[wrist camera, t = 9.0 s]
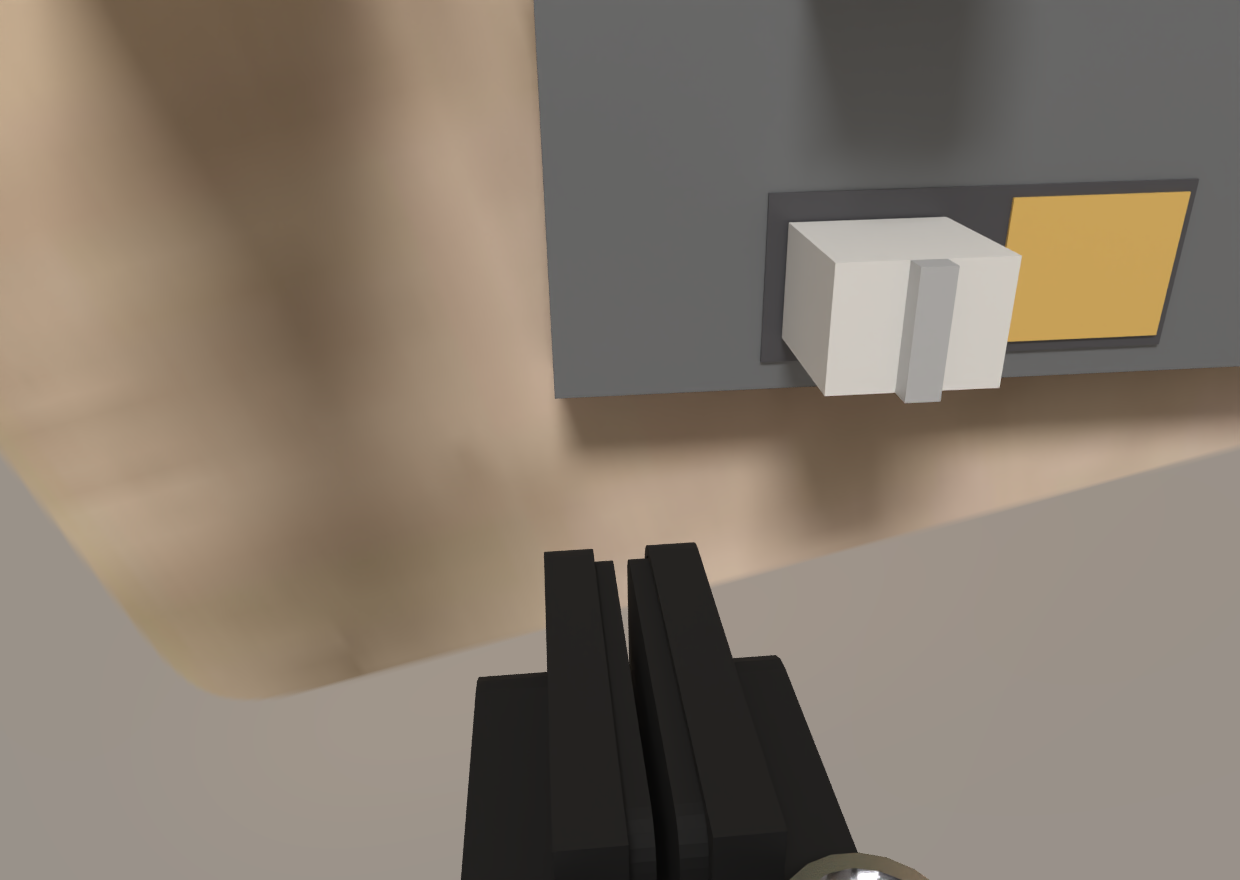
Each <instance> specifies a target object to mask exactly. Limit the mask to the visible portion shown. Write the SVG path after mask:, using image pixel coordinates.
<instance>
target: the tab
mask: <svg viewBox="0 0 1240 880" xmlns="http://www.w3.org/2000/svg"><path fill="white" fill-rule="evenodd" d="M1021 259H1022V255H1020V254H1018V253H1016V252H1014V251H1012V250H1010V249H1008V248H1006V247H1004V246H1002V245H1000V244H998V243H996V242H994V241H992V240H990V239H988V238H987V237H985V236H983V235H981V234H979V233H977V232H975V231H973V230H971V229H969V228H967V227H965V226H963V225H961V224H959V223H957V222H955V221H954V220H952V219H950V218H948V217H926V218H898V219H871V220H843V221H815V222H789V227H788V244H787V260H786V277H785V294H784V311H783V327H782V339H783V340H784V341H785V343H786V344H787V345H788V347H789V348H790V350H791V351H792V352H793V354H794V355H795V356H796V358H797V359H798V361H799V362H800V363H801V365H802V366H803V367H804V369H805V370H806V371H807V373H808V374H809V376H810V377H811V378H812V380H813V381H814V382H815V384H816V385H817V387H818V388H819V389H820V391H821V392H822V393H823V395H824V396H839V395H860V394H881V393H896V394H897V396H898V397H899V398H900V399H901V400H902V401H903V402H904V403H920V402H941V395H942V391H943V390H964V389H985V388H999V387H1000V381H1001V376H1002V370H1003V364H1004V358H1005V352H1006V346H1007V340H1008V335H1009V329H1010V323H1011V317H1012V311H1013V305H1014V299H1015V294H1016V288H1017V282H1018V276H1019V270H1020V264H1021Z"/></svg>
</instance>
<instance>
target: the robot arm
mask: <svg viewBox="0 0 1240 880" xmlns="http://www.w3.org/2000/svg"><path fill="white" fill-rule="evenodd" d="M544 570H545V606H546V642H547V672H542V673H528V674H516V675H515V674H514V675H502V676H488V677H479V678H478V680H477V687H476V697H475V710H474V722H473V723H474V724H473V735H472V747H471V760H470V772H469V785H468V797H467V810H466V822H465V835H464V848H463V861H462V873H461V880H929V879H927V878H926V877H924V876H923V875H922V874H920V873H919V872H917V871H916V870H915V869H912V868H910V867H908V866H905V865H903V864H901V863H898V862H896V861H894V860H891V859H889V858H887V857H881V856H875V855H869V854H863V853H858V852H857V850H856V847H855V844H854V842H853V839H852V837H851V835H850V832H849V829H848V827H847V824H846V822H845V819H844V817H843V814H842V812H841V809H840V806H839V804H838V801H837V799H836V796H835V794H834V791H833V789H832V786H831V784H830V781H829V778H828V776H827V773H826V771H825V768H824V766H823V763H822V761H821V758H820V755H819V753H818V751H817V748H816V745H815V743H814V740H813V738H812V735H811V733H810V730H809V728H808V725H807V722H806V720H805V717H804V715H803V712H802V710H801V707H800V705H799V703H798V700H797V697H796V695H795V692H794V690H793V687H792V685H791V682H790V679H789V677H788V674H787V672H786V669H785V667H784V665H783V663H782V661H781V659H780V658H779V657H777V656H776V655H773V656H772V655H771V656H758V657H745V658H732V655H731V652H730V648H729V645H728V642H727V639H726V636H725V633H724V629H723V626H722V623H721V620H720V617H719V614H718V611H717V607H716V605H715V601H714V598H713V595H712V592H711V589H710V585H709V582H708V579H707V576H706V573H705V570H704V567H703V563H702V560H701V557H700V554H699V551H698V548H697V545H696V543H694V542H692V543H676V544H661V545H646V548H645V559H630V560H628V565H627V577H628V626H629V627H628V628H629V660H628V654H627V647H626V641H625V634H624V629H623V622H622V615H621V609H620V602H619V596H618V589H617V583H616V576H615V570H614V564H613V561H599V562H594V554H593V549H583V550H568V551H552V552H544Z"/></svg>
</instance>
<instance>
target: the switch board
mask: <svg viewBox="0 0 1240 880" xmlns="http://www.w3.org/2000/svg"><path fill="white" fill-rule="evenodd" d="M534 16H535V35H536V53H537V72H538V91H539V109H540V128H541V147H542V165H543V184H544V203H545V222H546V240H547V259H548V278H549V296H550V315H551V334H552V352H553V371H554V390H555V399H557V398H578V397H599V396H620V395H641V394H663V393H684V392H705V391H726V390H747V389H768V388H790V387H811V386H817V385H816V384H815V382H814V381H813V380H812V378H811V377H810V376H809V374H808V373H807V371H806V370H805V369H804V367H803V366H802V365H801V363H800V362H799V361H798V359H797V358H796V356H795V355H794V354H793V352H792V351H791V350H790V348H789V347H788V345H787V344H786V343H785V341H784V340H783V339H782V327H783V311H784V294H785V277H786V260H787V244H788V227H789V222H815V221H843V220H871V219H898V218H926V217H948V218H950V219H952V220H954V221H955V222H957V223H959V224H961V225H963V226H965V227H967V228H969V229H971V230H973V231H975V232H977V233H979V234H981V235H983V236H985V237H987V238H988V239H990V240H992V241H994V242H996V243H998V244H1000V245H1002V246H1004V247H1006V248H1008V249H1010V250H1012V251H1014V252H1016V253H1018V254H1020V255H1022V259H1021V264H1020V270H1019V276H1018V282H1017V288H1016V294H1015V299H1014V305H1013V311H1012V317H1011V323H1010V329H1009V335H1008V340H1007V346H1006V352H1005V358H1004V364H1003V370H1002V376H1001V377H1022V376H1043V375H1064V374H1086V373H1107V372H1128V371H1149V370H1170V369H1191V368H1212V367H1234V366H1240V0H534Z"/></svg>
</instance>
